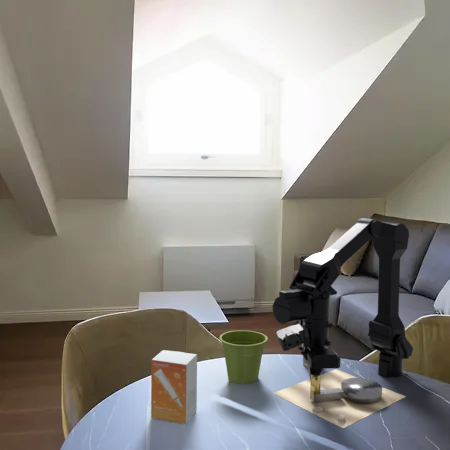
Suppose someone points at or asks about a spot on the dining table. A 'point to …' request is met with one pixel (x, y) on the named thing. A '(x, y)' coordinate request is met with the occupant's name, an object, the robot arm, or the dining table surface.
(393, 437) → the dining table surface
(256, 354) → the plant pot
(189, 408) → the small box
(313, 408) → the stand board
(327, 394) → the lever
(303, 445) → the dining table surface
